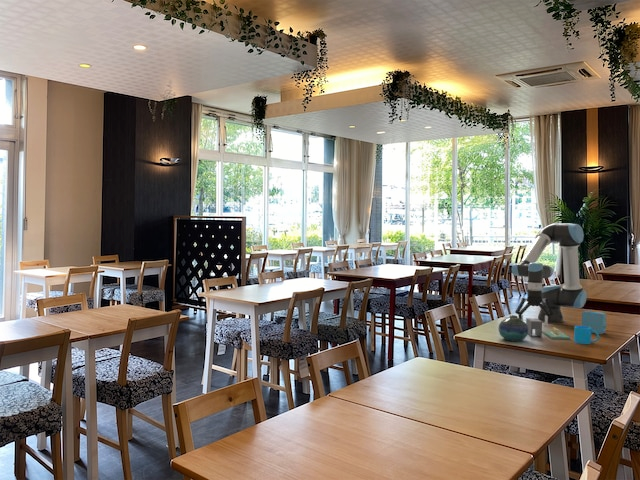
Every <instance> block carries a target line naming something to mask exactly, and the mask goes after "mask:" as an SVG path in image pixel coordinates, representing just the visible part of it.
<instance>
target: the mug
mask: <svg viewBox="0 0 640 480" xmlns="http://www.w3.org/2000/svg"><path fill="white" fill-rule="evenodd" d="M591 331H593V332H595V333H594V334H595V335H596V339H594V340H592V333H591ZM573 334H574V335H573V342H575V343H577V344H582V345H590V344H592V343H596V342H598V341H599V339H600V334H598V333H597V332H596V331H594V330H592V329H591V327H588V326H581V325H574V333H573Z"/></svg>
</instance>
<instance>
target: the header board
mask: <svg viewBox="0 0 640 480" xmlns="http://www.w3.org/2000/svg"><path fill="white" fill-rule="evenodd" d="M542 335H545V336H546V337H548V338H549V339H550V340H571V337H570V336H568V335H567V334H565V333H563V332H562V331H561V330H560V329H558V328H557V327H552V330H542Z"/></svg>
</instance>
